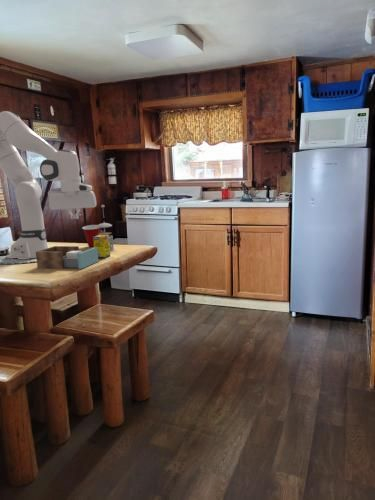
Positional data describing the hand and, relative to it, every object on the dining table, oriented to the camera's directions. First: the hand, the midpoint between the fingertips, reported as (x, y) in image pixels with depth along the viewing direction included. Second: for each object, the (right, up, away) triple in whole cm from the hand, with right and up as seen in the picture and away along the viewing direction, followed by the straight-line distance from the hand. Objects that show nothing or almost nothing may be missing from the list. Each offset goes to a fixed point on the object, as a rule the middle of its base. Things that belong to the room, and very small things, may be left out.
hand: (74, 218), depth 172 cm
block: (-1, -20, +6) cm, 20 cm away
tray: (0, -21, +5) cm, 21 cm away
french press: (+6, -15, +37) cm, 41 cm away
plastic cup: (-5, -12, +54) cm, 55 cm away
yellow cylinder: (+8, -18, +22) cm, 29 cm away
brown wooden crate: (-10, -21, +8) cm, 24 cm away
